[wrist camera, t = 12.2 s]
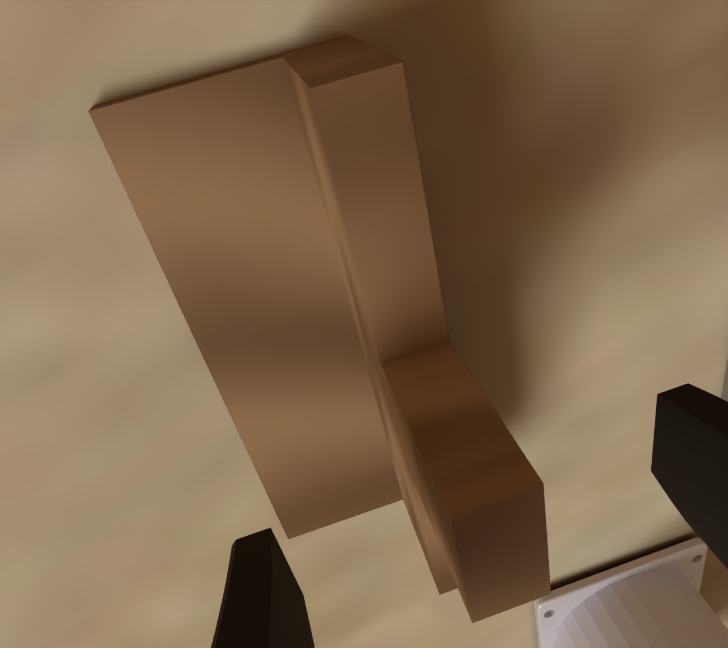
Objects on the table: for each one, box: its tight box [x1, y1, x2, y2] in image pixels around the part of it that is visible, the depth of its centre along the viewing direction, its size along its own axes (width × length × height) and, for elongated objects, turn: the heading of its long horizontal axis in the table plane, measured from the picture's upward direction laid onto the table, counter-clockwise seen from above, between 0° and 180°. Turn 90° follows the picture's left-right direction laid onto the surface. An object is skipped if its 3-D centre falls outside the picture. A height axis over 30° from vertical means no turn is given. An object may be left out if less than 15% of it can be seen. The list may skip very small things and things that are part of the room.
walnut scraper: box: [89, 36, 551, 623], centre depth 13 cm, size 14×6×8 cm, turn 12°
